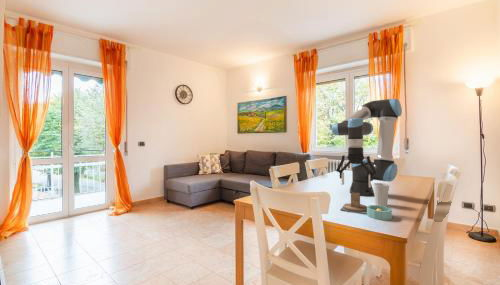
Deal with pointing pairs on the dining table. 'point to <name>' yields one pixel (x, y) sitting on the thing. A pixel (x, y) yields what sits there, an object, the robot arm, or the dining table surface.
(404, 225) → the dining table surface
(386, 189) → the cup
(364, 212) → the mat
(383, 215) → the bowl
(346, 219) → the dining table surface
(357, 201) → the lid
